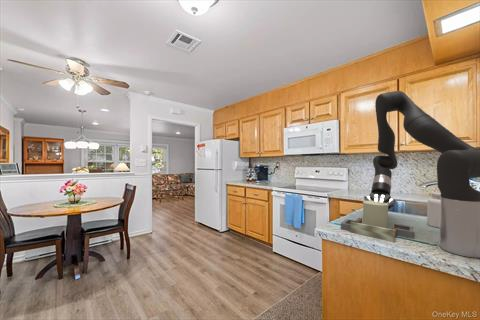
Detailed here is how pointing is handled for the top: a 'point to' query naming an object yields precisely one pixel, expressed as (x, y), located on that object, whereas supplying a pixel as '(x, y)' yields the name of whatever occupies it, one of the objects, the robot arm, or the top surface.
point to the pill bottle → (434, 210)
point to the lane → (373, 230)
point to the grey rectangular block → (375, 213)
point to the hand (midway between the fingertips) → (377, 216)
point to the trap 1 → (346, 224)
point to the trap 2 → (405, 231)
